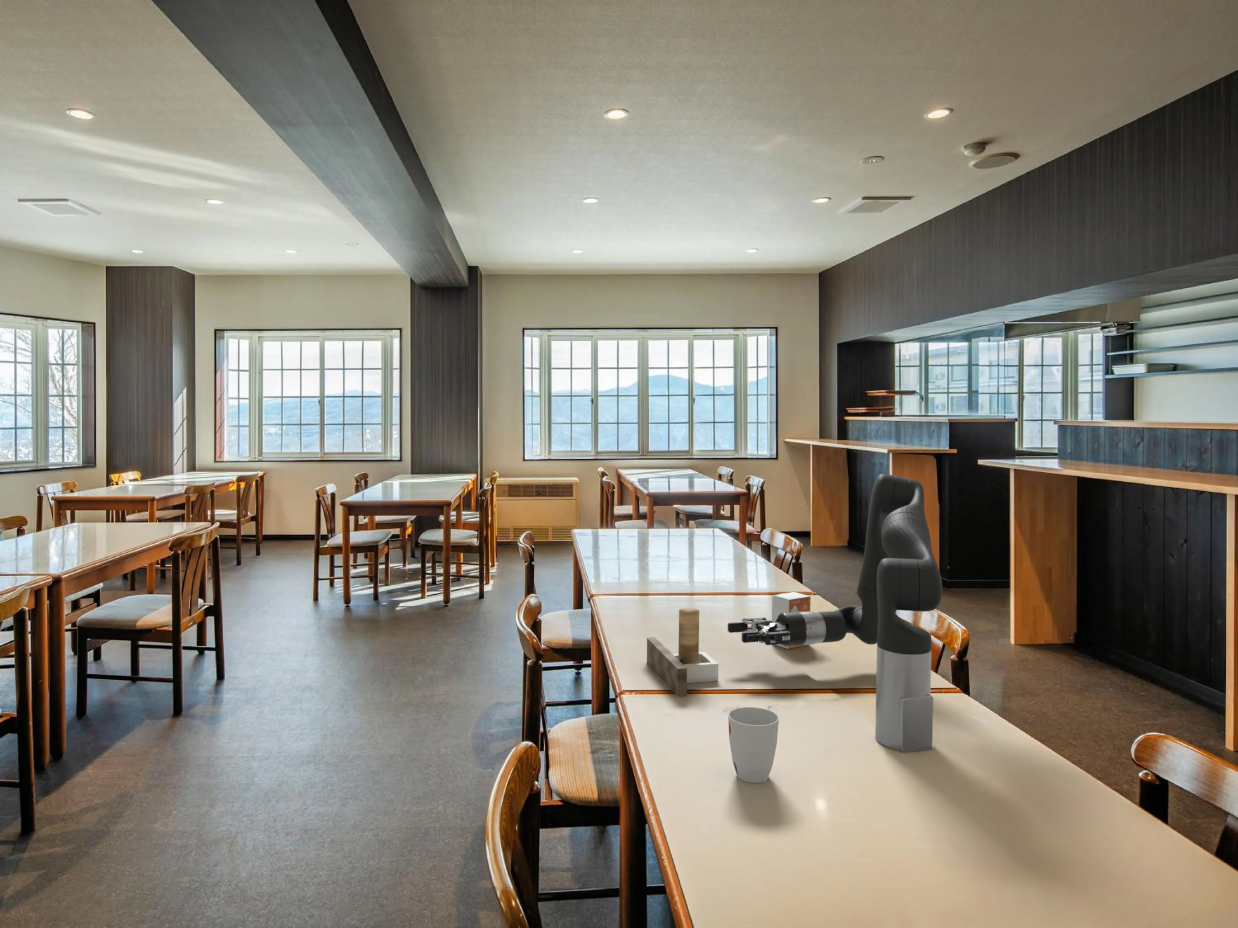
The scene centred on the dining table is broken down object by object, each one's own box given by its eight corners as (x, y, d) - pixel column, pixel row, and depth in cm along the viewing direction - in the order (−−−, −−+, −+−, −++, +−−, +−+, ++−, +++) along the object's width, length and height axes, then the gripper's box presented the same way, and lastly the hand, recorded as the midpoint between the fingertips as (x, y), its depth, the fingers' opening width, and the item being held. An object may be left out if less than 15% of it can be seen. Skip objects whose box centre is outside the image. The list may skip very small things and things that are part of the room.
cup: (743, 760, 132) (744, 703, 131) (786, 774, 126) (787, 714, 126) (718, 777, 125) (718, 716, 125) (762, 792, 120) (763, 729, 120)
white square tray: (718, 680, 169) (718, 663, 169) (679, 683, 167) (679, 666, 167) (704, 668, 178) (704, 651, 178) (667, 670, 176) (667, 654, 176)
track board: (766, 694, 164) (766, 662, 164) (676, 702, 159) (676, 668, 159) (725, 661, 187) (725, 632, 187) (645, 666, 183) (645, 637, 182)
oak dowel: (701, 674, 171) (702, 612, 170) (681, 676, 170) (682, 613, 169) (694, 668, 175) (695, 607, 174) (675, 669, 174) (676, 608, 173)
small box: (788, 649, 197) (789, 599, 197) (770, 643, 203) (771, 594, 202) (810, 644, 202) (811, 595, 201) (792, 639, 207) (793, 591, 206)
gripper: (787, 605, 185) (723, 608, 181) (815, 619, 171) (747, 623, 167) (787, 636, 185) (723, 640, 182) (815, 653, 172) (747, 657, 168)
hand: (735, 632), depth 175 cm, fingers open, 8 cm apart
